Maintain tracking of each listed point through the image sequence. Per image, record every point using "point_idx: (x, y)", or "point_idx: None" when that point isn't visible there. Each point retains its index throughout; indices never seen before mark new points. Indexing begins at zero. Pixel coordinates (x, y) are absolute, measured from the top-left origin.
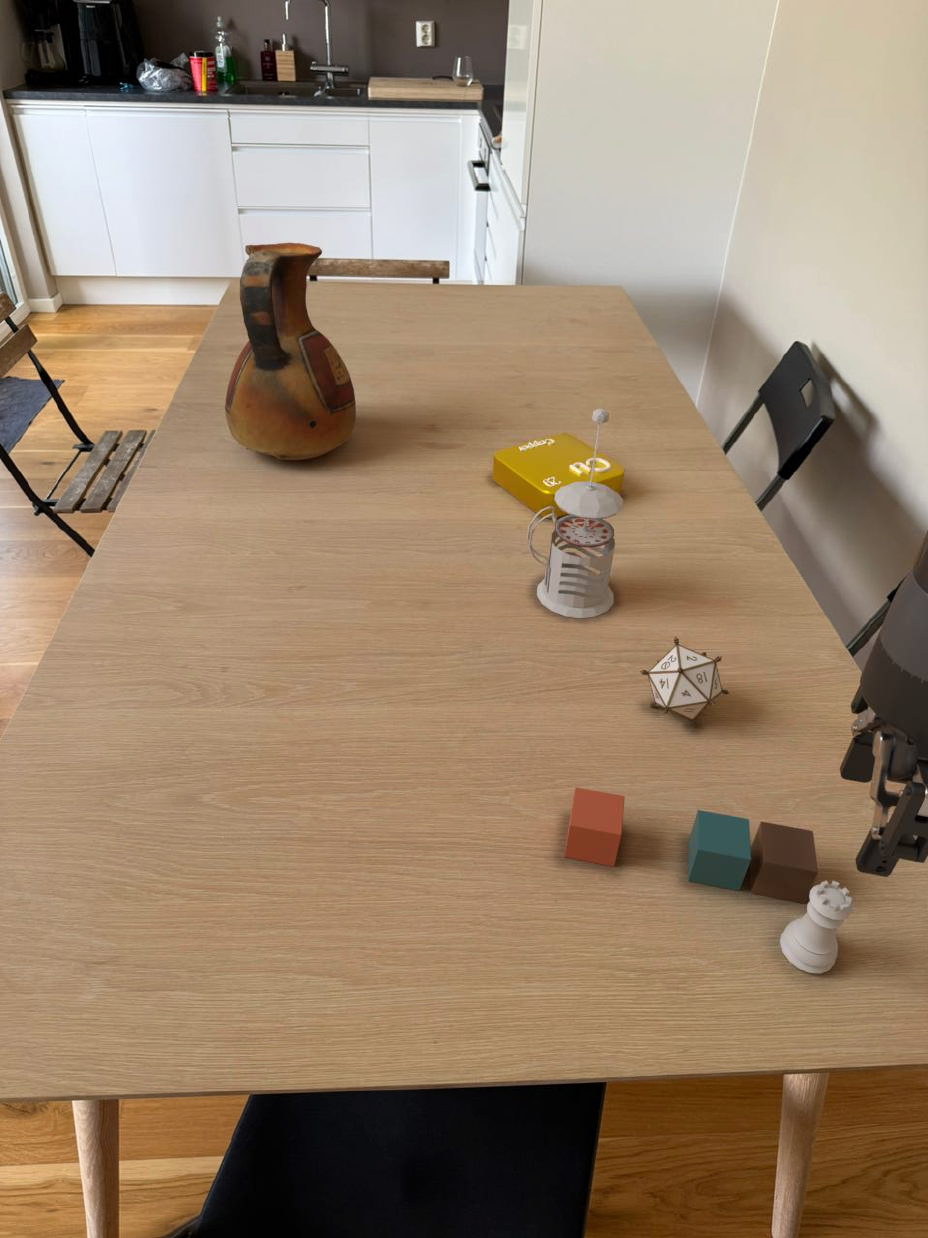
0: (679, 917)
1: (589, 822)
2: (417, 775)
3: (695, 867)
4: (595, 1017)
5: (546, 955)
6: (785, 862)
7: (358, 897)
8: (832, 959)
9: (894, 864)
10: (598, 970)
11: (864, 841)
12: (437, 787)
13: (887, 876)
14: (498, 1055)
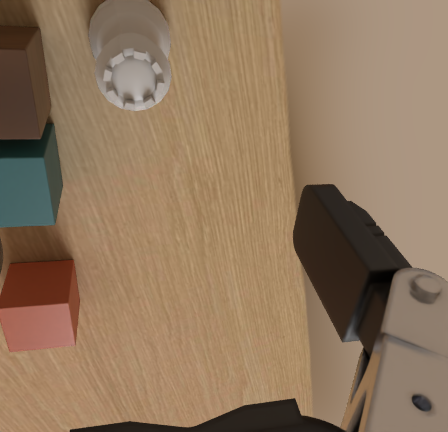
0: (122, 191)
1: (62, 332)
2: (28, 414)
3: (59, 199)
4: (254, 251)
5: (200, 293)
6: (26, 105)
7: (175, 403)
8: (158, 16)
9: (387, 240)
10: (207, 255)
11: (322, 300)
12: (35, 400)
13: (356, 205)
14: (291, 303)
